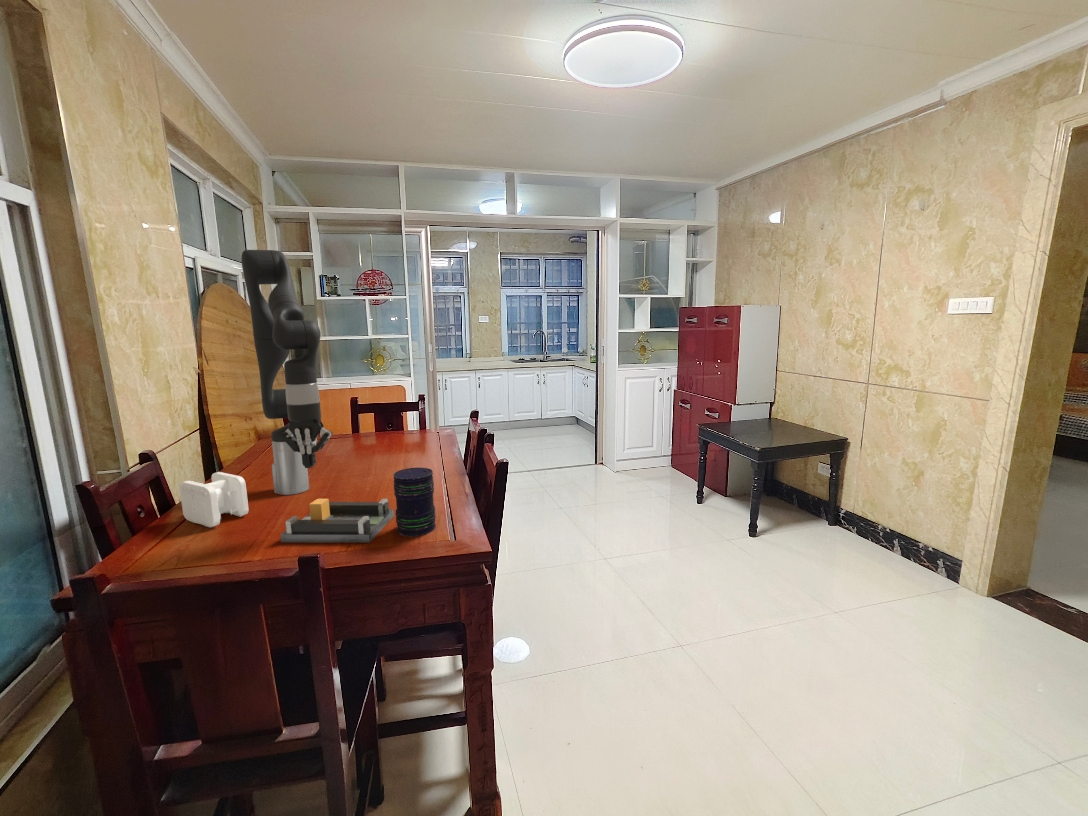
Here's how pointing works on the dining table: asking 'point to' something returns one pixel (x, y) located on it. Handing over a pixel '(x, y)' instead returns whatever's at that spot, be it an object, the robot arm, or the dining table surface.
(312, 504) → the toggle
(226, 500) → the cable organizer
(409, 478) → the dark blue cylinder
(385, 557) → the dining table surface
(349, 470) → the dining table surface
